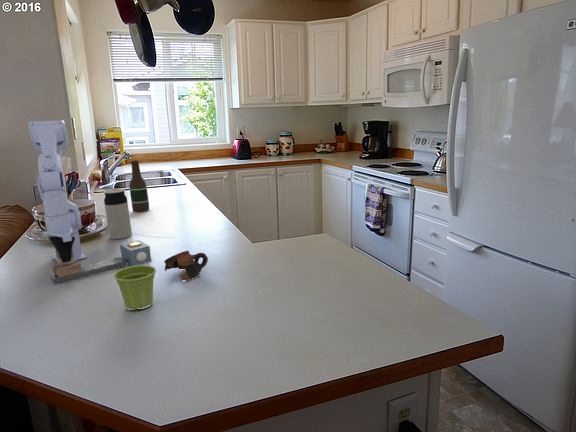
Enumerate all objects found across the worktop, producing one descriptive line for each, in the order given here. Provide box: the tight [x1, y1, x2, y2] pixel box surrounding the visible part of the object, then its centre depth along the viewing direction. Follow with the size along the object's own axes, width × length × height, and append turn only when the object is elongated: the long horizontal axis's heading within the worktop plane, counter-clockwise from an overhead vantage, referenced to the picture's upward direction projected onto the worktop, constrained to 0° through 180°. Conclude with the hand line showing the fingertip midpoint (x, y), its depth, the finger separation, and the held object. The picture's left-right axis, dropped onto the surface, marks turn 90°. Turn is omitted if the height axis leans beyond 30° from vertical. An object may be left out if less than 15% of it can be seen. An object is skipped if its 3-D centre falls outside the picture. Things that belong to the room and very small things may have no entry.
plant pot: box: [113, 264, 157, 309], centre depth 100 cm, size 9×9×9 cm
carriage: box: [52, 251, 82, 278], centre depth 120 cm, size 6×6×6 cm
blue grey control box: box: [119, 239, 152, 267], centre depth 133 cm, size 9×6×5 cm, turn 40°
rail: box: [49, 256, 128, 285], centre depth 125 cm, size 5×20×2 cm, turn 130°
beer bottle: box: [128, 159, 150, 213], centre depth 200 cm, size 8×8×24 cm
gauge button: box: [128, 242, 141, 248], centre depth 133 cm, size 3×3×4 cm
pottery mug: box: [163, 250, 209, 281], centre depth 119 cm, size 12×10×8 cm
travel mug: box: [103, 187, 133, 240], centre depth 158 cm, size 8×8×18 cm
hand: (65, 260), depth 120 cm, fingers closed on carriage, 2 cm apart
